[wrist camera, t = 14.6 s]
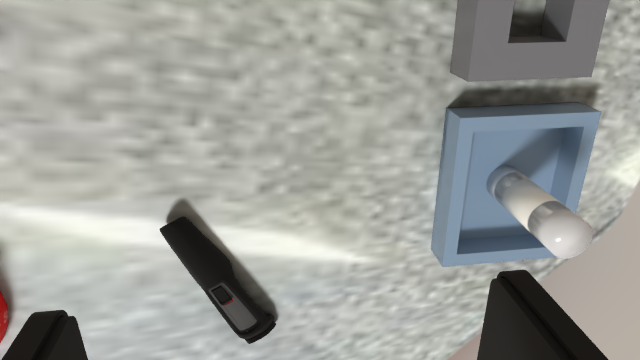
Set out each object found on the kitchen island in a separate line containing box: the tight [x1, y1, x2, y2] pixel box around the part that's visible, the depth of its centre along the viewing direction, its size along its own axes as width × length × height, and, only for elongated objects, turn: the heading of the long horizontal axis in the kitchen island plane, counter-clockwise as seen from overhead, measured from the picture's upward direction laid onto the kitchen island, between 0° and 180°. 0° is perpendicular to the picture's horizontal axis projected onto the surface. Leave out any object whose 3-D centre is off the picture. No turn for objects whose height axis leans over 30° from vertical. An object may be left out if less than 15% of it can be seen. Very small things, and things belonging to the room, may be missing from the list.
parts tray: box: [431, 102, 601, 267], centre depth 41 cm, size 14×12×3 cm
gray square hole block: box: [450, 0, 609, 82], centre depth 35 cm, size 10×10×4 cm
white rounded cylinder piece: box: [486, 166, 593, 259], centre depth 38 cm, size 3×3×10 cm
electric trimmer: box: [160, 217, 276, 344], centre depth 42 cm, size 4×16×3 cm, turn 28°
